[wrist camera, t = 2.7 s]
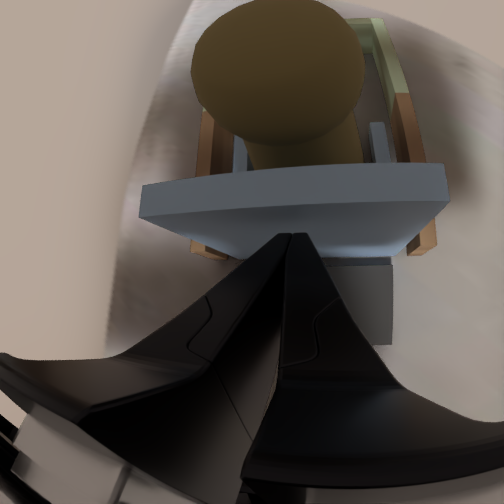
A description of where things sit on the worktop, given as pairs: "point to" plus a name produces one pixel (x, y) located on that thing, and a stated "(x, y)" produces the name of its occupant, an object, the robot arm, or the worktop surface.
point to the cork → (283, 82)
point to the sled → (304, 204)
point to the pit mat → (368, 298)
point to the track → (400, 114)
